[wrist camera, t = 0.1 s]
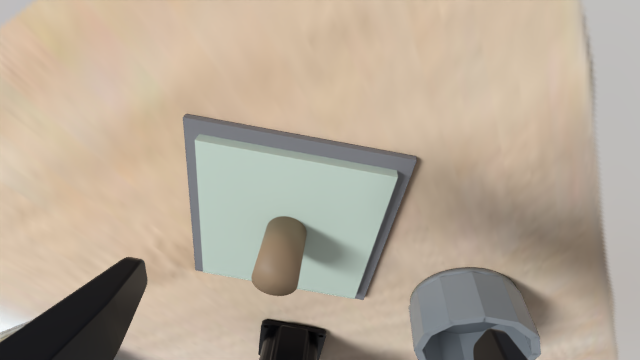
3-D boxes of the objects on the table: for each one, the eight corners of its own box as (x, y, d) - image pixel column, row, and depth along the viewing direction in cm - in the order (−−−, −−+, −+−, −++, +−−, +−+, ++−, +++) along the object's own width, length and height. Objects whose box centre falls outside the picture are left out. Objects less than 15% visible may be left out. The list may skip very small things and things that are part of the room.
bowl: (490, 337, 34) (505, 387, 30) (397, 321, 34) (401, 369, 30) (539, 278, 29) (565, 330, 25) (429, 258, 28) (439, 308, 25)
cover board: (354, 291, 31) (353, 350, 27) (206, 264, 31) (181, 320, 26) (396, 170, 23) (404, 226, 19) (199, 133, 23) (162, 182, 19)
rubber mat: (363, 295, 32) (363, 299, 32) (197, 265, 32) (195, 270, 31) (415, 156, 23) (416, 160, 23) (185, 113, 23) (182, 117, 22)
